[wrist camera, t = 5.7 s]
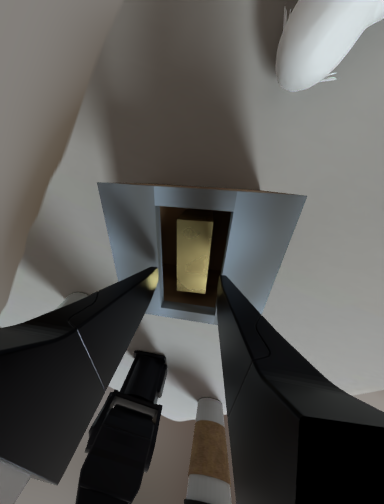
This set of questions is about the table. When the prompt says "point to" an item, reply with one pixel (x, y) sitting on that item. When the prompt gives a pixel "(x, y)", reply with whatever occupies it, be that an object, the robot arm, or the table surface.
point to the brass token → (193, 249)
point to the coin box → (222, 243)
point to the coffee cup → (209, 457)
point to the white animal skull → (320, 38)
